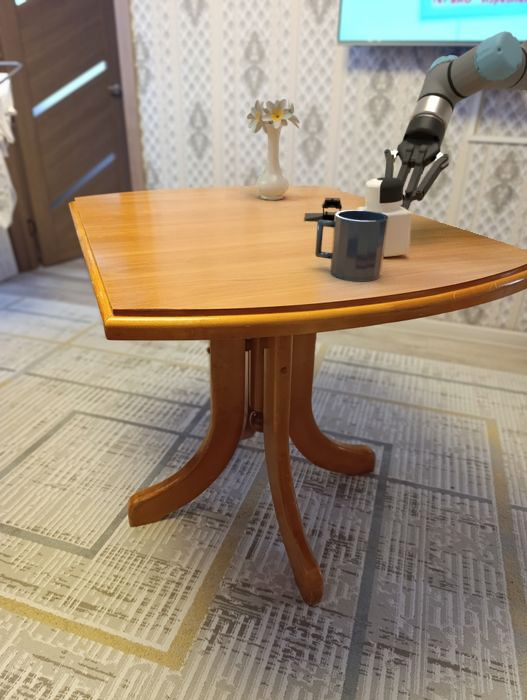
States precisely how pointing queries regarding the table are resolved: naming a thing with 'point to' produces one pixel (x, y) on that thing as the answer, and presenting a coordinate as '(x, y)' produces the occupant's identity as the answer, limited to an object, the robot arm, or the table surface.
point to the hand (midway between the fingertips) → (390, 226)
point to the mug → (355, 244)
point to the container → (390, 212)
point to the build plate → (326, 215)
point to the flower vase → (272, 145)
